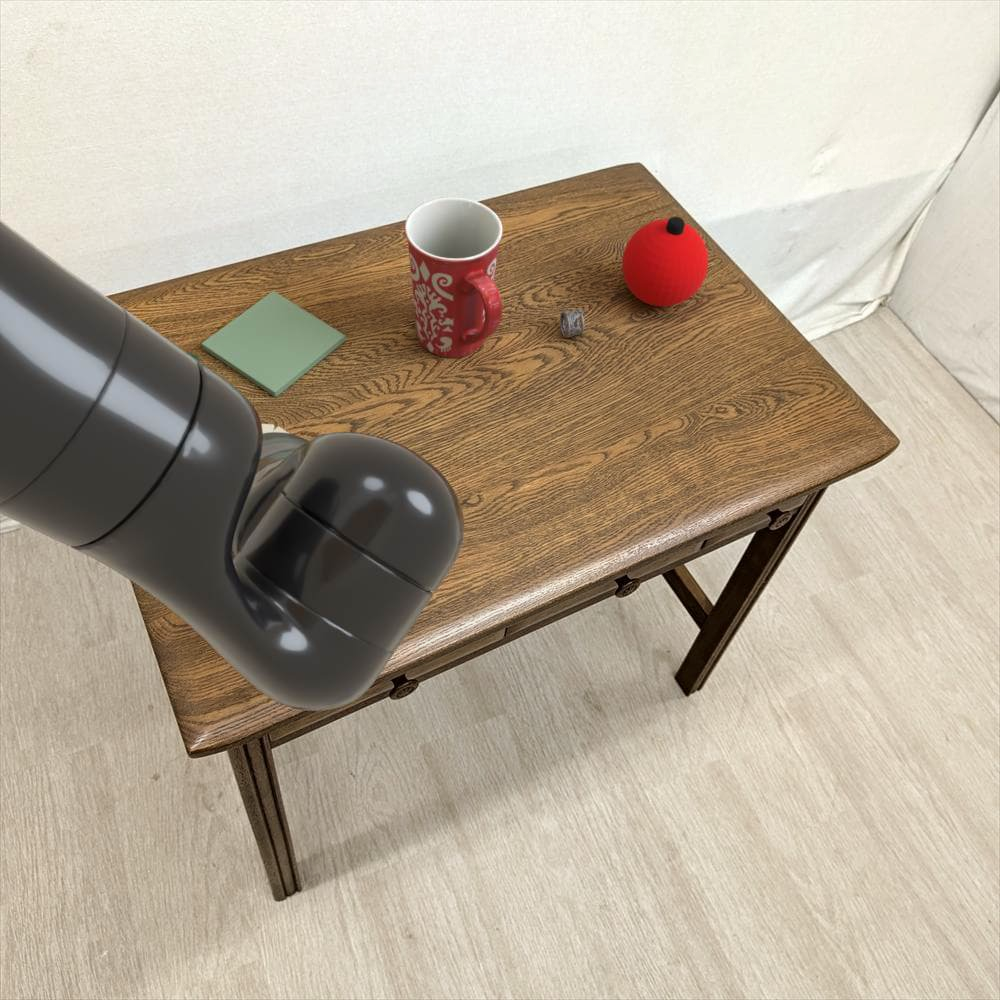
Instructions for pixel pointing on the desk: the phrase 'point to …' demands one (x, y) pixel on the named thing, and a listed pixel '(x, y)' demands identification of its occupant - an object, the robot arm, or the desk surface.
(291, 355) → the mat
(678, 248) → the ornament
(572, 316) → the decorative ring
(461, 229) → the mug
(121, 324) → the robot arm
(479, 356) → the desk surface
